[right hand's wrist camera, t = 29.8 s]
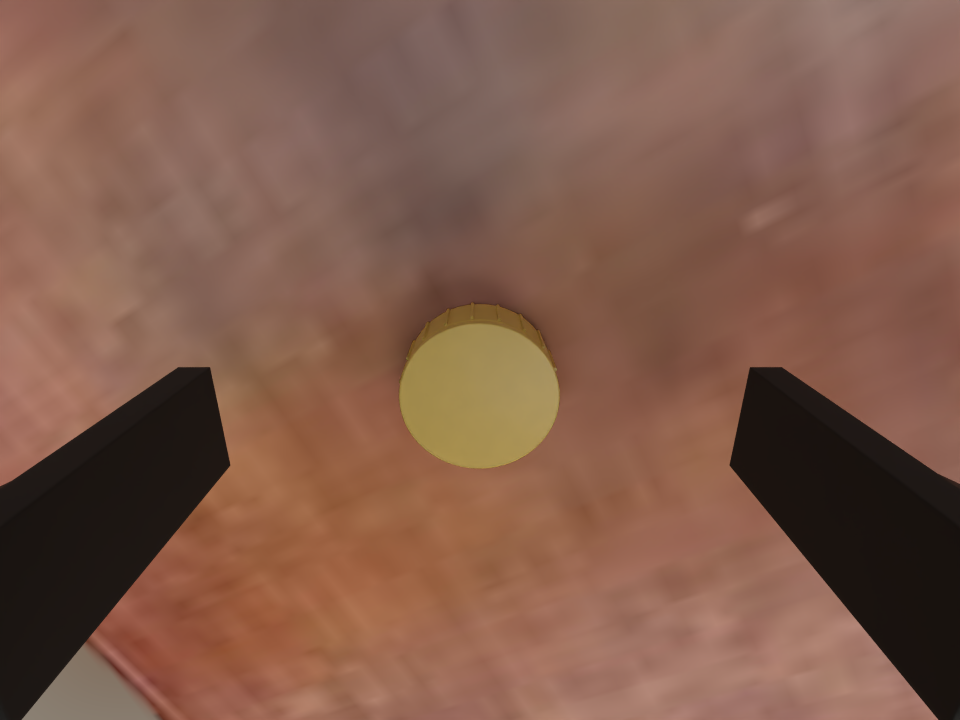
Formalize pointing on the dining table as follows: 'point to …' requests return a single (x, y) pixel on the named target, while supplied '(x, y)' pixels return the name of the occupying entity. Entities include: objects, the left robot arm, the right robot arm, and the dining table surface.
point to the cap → (479, 387)
